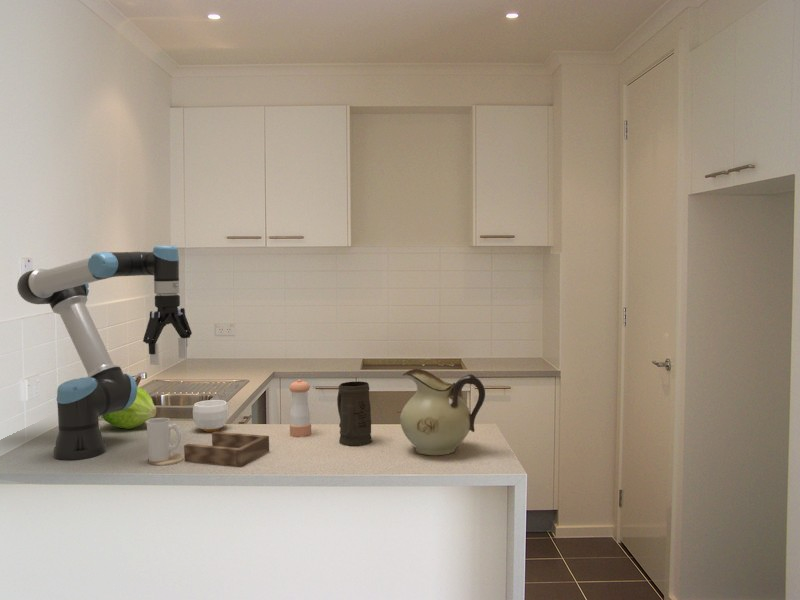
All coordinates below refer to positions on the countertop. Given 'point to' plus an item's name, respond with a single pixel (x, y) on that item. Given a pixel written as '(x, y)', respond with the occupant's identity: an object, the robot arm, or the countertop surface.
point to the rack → (228, 449)
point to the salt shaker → (300, 409)
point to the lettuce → (133, 412)
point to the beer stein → (354, 413)
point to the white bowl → (210, 414)
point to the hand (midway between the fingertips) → (169, 361)
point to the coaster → (169, 460)
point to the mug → (160, 439)
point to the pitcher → (438, 413)
